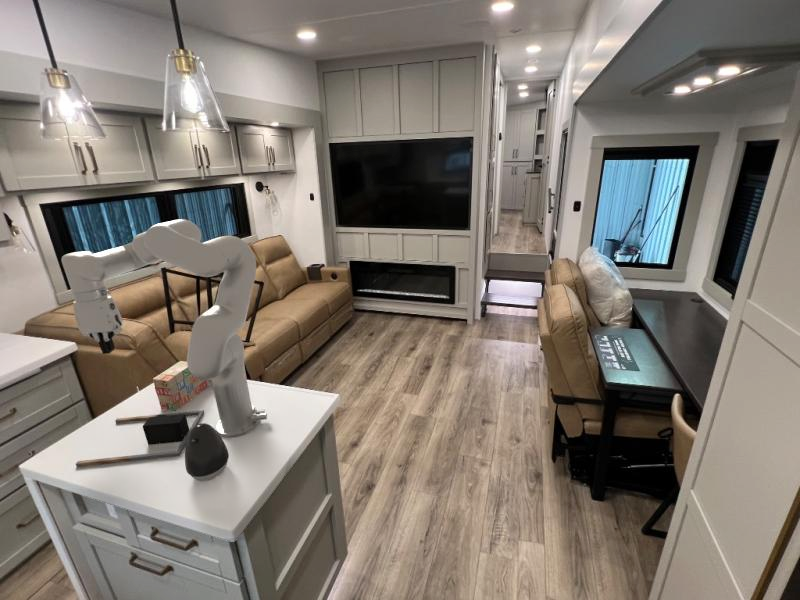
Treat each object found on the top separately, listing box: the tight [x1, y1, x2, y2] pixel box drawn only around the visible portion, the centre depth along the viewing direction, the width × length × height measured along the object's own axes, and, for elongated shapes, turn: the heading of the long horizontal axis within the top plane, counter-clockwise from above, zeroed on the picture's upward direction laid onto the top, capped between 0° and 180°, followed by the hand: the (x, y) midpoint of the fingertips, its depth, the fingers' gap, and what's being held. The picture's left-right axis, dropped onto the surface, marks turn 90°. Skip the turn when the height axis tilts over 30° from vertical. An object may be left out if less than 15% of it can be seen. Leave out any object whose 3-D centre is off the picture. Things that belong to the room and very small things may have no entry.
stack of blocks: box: [152, 360, 212, 412], centre depth 136 cm, size 21×6×12 cm, turn 166°
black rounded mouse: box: [184, 422, 230, 482], centre depth 99 cm, size 10×10×15 cm
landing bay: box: [130, 409, 206, 462], centre depth 116 cm, size 13×20×1 cm, turn 7°
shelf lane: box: [75, 414, 158, 468], centre depth 115 cm, size 14×20×1 cm
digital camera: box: [142, 413, 190, 446], centre depth 115 cm, size 10×5×7 cm, turn 97°
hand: (108, 351), depth 116 cm, fingers closed
